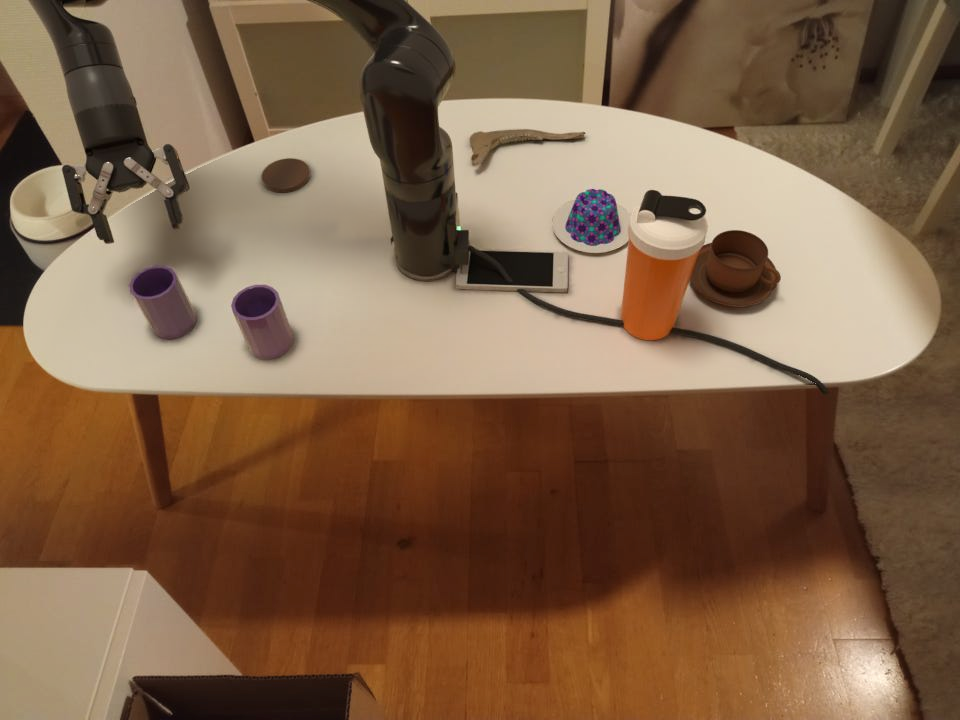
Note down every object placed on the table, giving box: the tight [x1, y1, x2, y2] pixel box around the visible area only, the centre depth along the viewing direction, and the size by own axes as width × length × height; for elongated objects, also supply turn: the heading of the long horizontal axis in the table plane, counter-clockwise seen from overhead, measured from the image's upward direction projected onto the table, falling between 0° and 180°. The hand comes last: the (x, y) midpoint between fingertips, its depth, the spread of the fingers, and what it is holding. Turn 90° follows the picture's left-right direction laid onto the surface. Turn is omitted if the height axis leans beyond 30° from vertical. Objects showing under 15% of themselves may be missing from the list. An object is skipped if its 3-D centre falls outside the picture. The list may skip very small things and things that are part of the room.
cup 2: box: [230, 284, 294, 360], centre depth 98 cm, size 6×6×8 cm
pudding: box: [551, 188, 631, 254], centre depth 110 cm, size 12×12×5 cm
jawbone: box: [469, 128, 587, 167], centre depth 125 cm, size 9×20×2 cm, turn 115°
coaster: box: [261, 157, 311, 193], centre depth 122 cm, size 8×8×1 cm
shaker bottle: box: [620, 188, 709, 341], centre depth 93 cm, size 9×9×20 cm
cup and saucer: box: [689, 229, 782, 307], centre depth 103 cm, size 12×12×6 cm
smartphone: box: [455, 248, 569, 293], centre depth 107 cm, size 7×15×1 cm, turn 85°
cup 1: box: [128, 265, 198, 340], centre depth 101 cm, size 6×6×8 cm
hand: (143, 235), depth 99 cm, fingers open, 8 cm apart
